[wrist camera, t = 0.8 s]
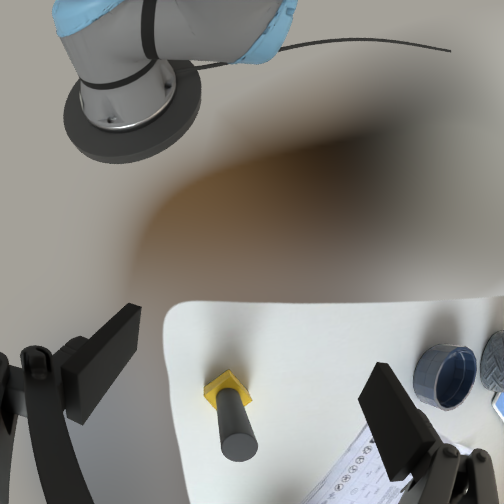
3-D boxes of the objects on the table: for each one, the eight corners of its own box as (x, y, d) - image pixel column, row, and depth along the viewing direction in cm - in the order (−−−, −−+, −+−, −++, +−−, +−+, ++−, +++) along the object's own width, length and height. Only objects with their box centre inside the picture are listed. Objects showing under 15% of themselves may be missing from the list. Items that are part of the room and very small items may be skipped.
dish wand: (228, 369, 36) (244, 416, 20) (248, 392, 36) (276, 449, 20) (203, 387, 35) (202, 444, 19) (223, 410, 35) (235, 475, 19)
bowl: (441, 330, 41) (464, 332, 35) (461, 370, 40) (482, 374, 35) (402, 376, 39) (424, 383, 33) (426, 413, 38) (446, 422, 33)
